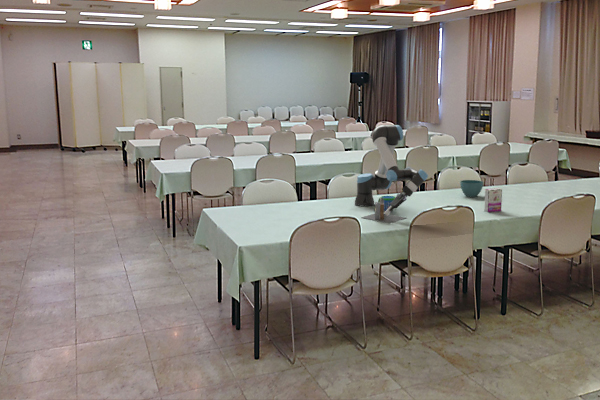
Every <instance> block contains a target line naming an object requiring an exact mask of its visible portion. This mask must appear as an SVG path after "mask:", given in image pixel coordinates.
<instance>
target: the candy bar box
mask: <svg viewBox="0 0 600 400" xmlns="http://www.w3.org/2000/svg"><path fill="white" fill-rule="evenodd" d="M502 198H503V189H502V188H499V187H498V188H486V189H484V212H486V213H497V212H498V213H499V212H501V211H502V202H503V201H502V200H503V199H502Z"/></svg>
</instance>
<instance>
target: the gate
mask: <svg viewBox="0 0 600 400" xmlns="http://www.w3.org/2000/svg"><path fill="white" fill-rule="evenodd" d="M384 212H385V211H384V204H380V219H381V220H384V214H385V213H384Z"/></svg>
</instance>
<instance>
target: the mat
mask: <svg viewBox="0 0 600 400" xmlns="http://www.w3.org/2000/svg"><path fill="white" fill-rule="evenodd" d="M384 214H385V213H384ZM360 217H361V216H360ZM360 219H365V220H370V221H376V222H381V223H387V224H393V223H396V222H398V221H403V220H405V219H407V217H405V216H399V215H394V214H389V215H388V216H387V215H386V214H385V215H384V220H381V219H380V216H379V220H375V213H372V214H368V215H365V216H362V217H361V218H360Z"/></svg>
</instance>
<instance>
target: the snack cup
mask: <svg viewBox="0 0 600 400" xmlns="http://www.w3.org/2000/svg"><path fill="white" fill-rule="evenodd" d="M395 197H396V196H395V195H394V196H393V195H381V196H380V197H379V198H378V200H377V202H380V198H384V212H385V211H386V210H387V209H388V208H389V207H390V206H391V205H390V204H391V202H392V201H393V200H394V199H395ZM393 210H394V209H393ZM393 210H392V211H391V212H393Z"/></svg>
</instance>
